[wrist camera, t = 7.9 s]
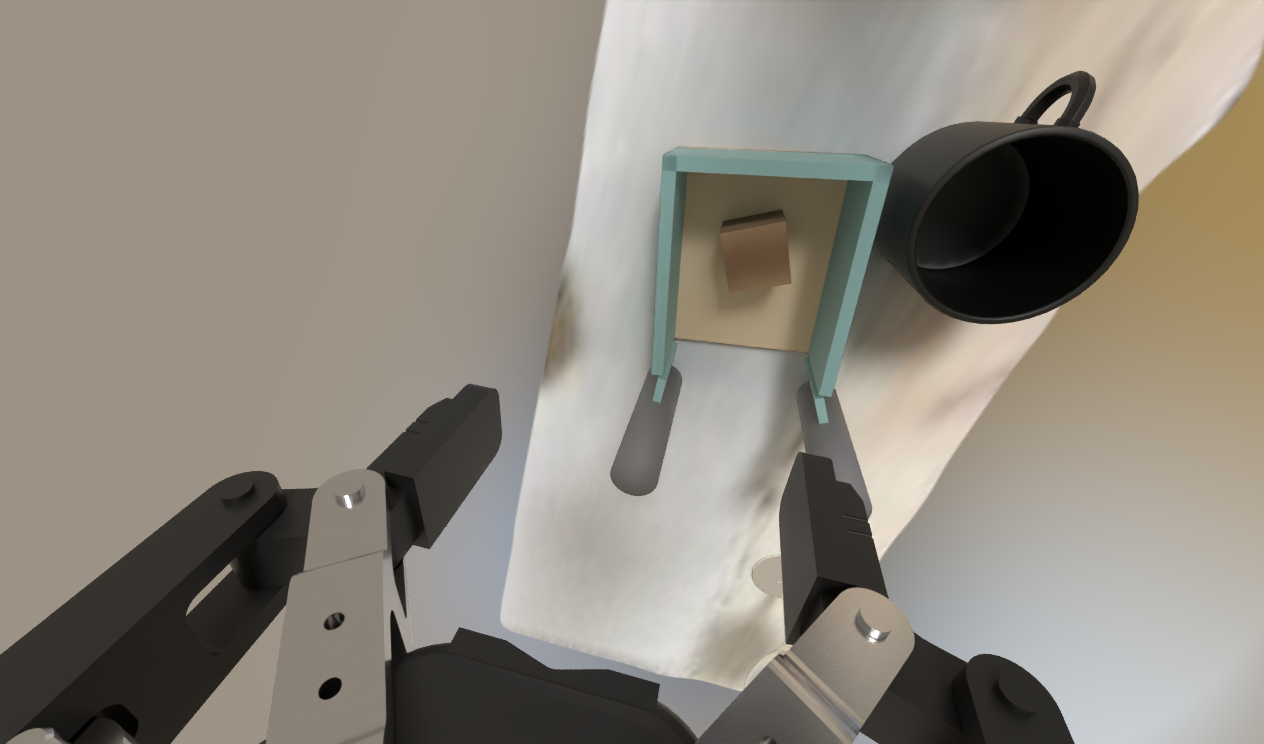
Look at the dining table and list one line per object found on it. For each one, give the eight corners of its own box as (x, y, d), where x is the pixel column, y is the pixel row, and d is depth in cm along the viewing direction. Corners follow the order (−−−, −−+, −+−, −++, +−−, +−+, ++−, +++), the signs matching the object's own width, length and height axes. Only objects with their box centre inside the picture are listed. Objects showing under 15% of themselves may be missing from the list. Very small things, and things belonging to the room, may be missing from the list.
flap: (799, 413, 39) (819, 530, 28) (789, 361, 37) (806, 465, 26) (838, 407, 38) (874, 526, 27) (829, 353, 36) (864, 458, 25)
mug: (1111, 107, 27) (1258, 106, 19) (968, 295, 33) (1035, 351, 25) (954, 48, 27) (1036, 23, 19) (841, 245, 33) (869, 286, 26)
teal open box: (678, 146, 32) (662, 154, 26) (865, 154, 30) (893, 165, 24) (666, 333, 39) (651, 374, 33) (818, 350, 37) (831, 396, 31)
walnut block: (722, 221, 34) (719, 233, 30) (781, 209, 32) (785, 221, 29) (730, 275, 35) (728, 293, 32) (787, 266, 34) (791, 283, 31)
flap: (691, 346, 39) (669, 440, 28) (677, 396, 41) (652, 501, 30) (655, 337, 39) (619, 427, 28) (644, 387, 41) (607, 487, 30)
